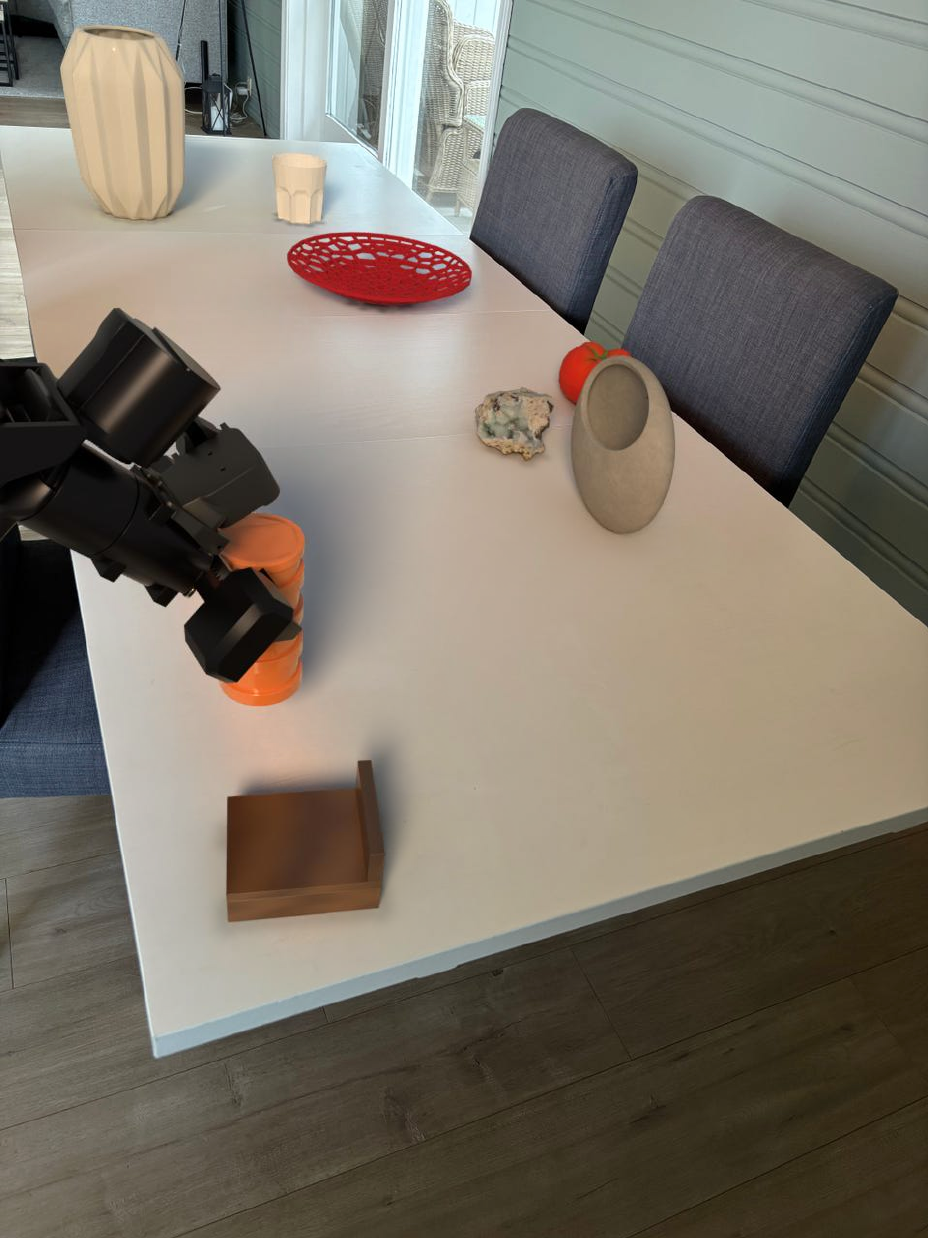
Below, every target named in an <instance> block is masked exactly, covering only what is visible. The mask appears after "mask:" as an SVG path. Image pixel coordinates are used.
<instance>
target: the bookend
mask: <svg viewBox="0 0 928 1238" xmlns="http://www.w3.org/2000/svg"><path fill="white" fill-rule="evenodd" d="M355 775H356V777H355V787H350V788H333V789H321V790H320V789H319V790H306V791H290V792H276V793H275V792H274V793H261V794H244V795H228V796H227V797H226V861H225V863H226V864H225V865H226V867H225V868H226V869H225V871H226V873H225V877H226V878H225V879H226V880H225V889H226V890H225V899H226V900H225V901H226V912H227V922H228V923H236V922H237V923H238V922H248V921H258V920H269V919H278V918H279V919H280V918H288V917H289V918H290V917H299V916H310V915H321V914H322V915H323V914H332V913H342V912H352V911H353V912H354V911H363V910H372V909H373V910H374V909H379V908H380V900H381V894H382V893H381V891H382V885H383V875H384V866H385V858H386V851H385V844H384V837H383V830H382V823H381V816H380V810H379V809H380V808H379V803H378V794H377V787H376V781H375V775H374V767H373V761H372V760H371V759H362V760H361V759H360V760H357V763H356V774H355Z"/></svg>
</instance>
